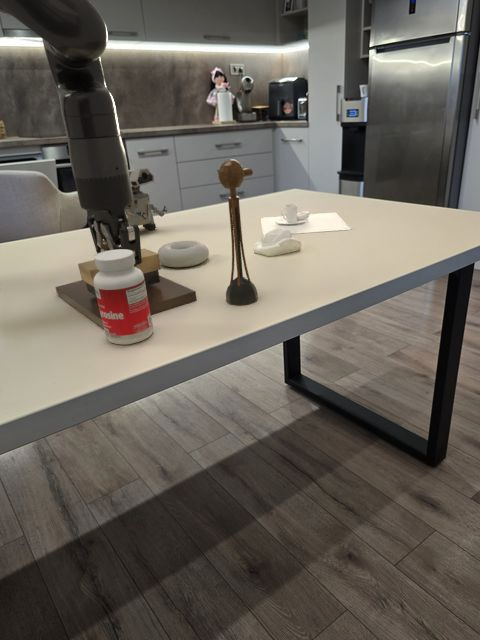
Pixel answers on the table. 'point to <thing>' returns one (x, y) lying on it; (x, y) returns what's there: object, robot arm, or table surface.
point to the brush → (147, 266)
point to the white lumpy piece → (277, 243)
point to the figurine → (141, 200)
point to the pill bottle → (122, 297)
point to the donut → (183, 253)
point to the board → (158, 295)
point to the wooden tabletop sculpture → (237, 234)
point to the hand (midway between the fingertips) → (123, 286)
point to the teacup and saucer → (303, 221)
